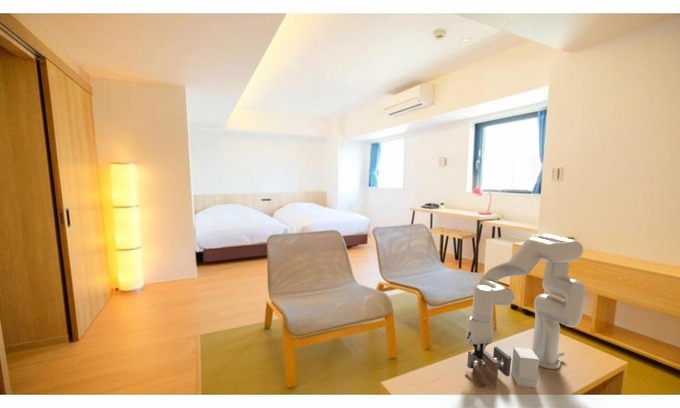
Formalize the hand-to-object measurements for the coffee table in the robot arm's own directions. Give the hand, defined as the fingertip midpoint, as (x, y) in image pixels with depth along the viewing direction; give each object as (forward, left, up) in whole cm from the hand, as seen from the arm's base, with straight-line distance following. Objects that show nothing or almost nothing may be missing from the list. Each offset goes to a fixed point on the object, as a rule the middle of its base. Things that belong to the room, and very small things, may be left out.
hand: (478, 357), depth 122 cm
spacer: (-12, 0, -8) cm, 14 cm away
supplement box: (-20, +4, -11) cm, 23 cm away
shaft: (-6, 0, -4) cm, 7 cm away
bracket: (-1, 0, -11) cm, 11 cm away
